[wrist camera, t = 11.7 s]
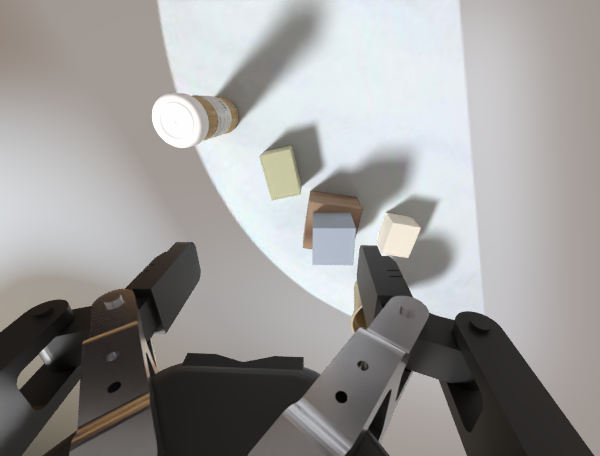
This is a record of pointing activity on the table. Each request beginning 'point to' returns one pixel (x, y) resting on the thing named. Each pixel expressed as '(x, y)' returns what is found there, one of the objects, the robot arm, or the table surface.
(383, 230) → the cream block
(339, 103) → the table surface
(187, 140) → the sprinkles bottle
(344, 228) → the slate block
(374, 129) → the table surface
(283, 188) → the olive block
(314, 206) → the walnut block
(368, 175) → the table surface
